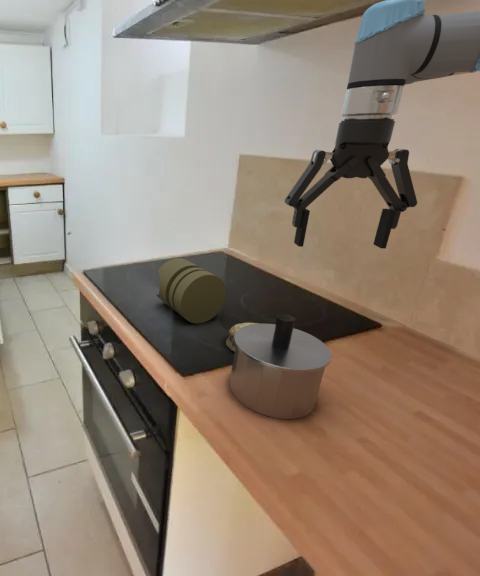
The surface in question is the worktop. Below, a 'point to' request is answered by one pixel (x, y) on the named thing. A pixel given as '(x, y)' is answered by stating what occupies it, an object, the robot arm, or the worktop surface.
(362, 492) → the worktop surface
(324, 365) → the pot lid
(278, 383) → the pot
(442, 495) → the worktop surface
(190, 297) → the piston
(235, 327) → the cake
